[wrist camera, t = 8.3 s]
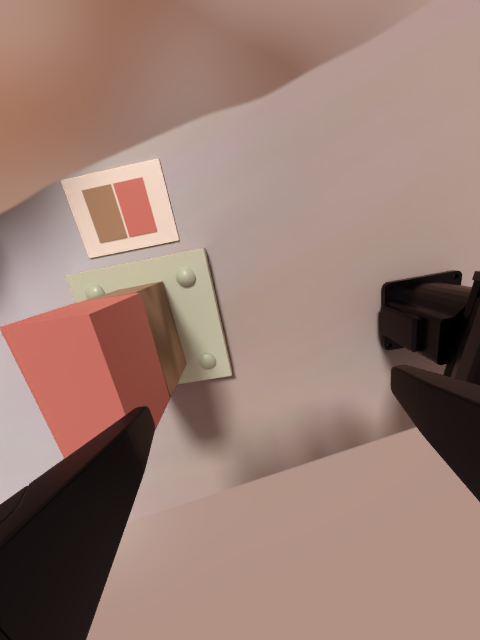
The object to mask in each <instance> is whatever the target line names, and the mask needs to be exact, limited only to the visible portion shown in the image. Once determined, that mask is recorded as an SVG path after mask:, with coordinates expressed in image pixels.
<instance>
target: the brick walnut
mask: <svg viewBox="0 0 480 640" xmlns="http://www.w3.org/2000/svg"><path fill="white" fill-rule="evenodd" d="M136 293H140V294H141V297H142V301H143V305H144V308H145V312H146V315H147V319H148V322H149V326H150V329H151V333H152V336H153V340H154V343H155V347H156V351H157V354H158V358H159V361H160V365H161V368H162V372H163V375H164V379H165V382H166V386H167V390H168V393H169V397H171V396H172V394H173V392H174V390H175V388H176V386H177V384H178V382H179V379H180V377H181V375H182V373H183V371H184V369H185V367H186V365H187V364H186V360H185V357H184V353H183V350H182V346H181V343H180V339H179V336H178V332H177V329H176V325H175V322H174V318H173V315H172V311H171V308H170V304H169V301H168V297H167V294H166V290H165V287H164V283H163V281H161V282H156V283H151V284H146V285H140V286H135V287H130V288H125V289H119V290H116V291H113V292H109V293H106V294H103V295H100V296H97V297H94V298H91V299H88V300H95V299H102V298H109V297H115V296H122V295H129V294H136ZM88 300H84V301H88Z"/></svg>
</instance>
